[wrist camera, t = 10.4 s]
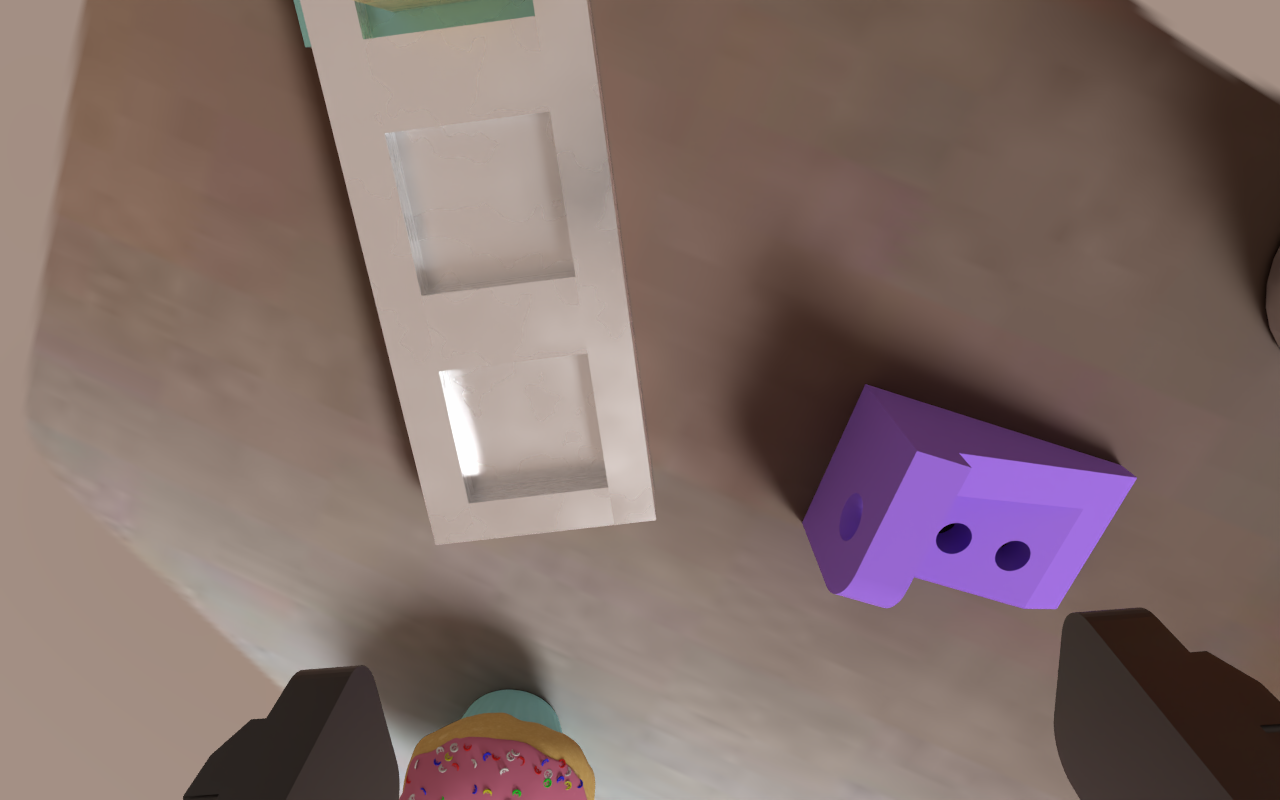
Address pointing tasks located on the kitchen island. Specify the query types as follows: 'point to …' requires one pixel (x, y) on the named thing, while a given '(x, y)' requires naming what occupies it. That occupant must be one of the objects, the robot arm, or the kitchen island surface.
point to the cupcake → (500, 755)
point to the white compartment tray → (492, 256)
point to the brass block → (405, 3)
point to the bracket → (955, 507)
